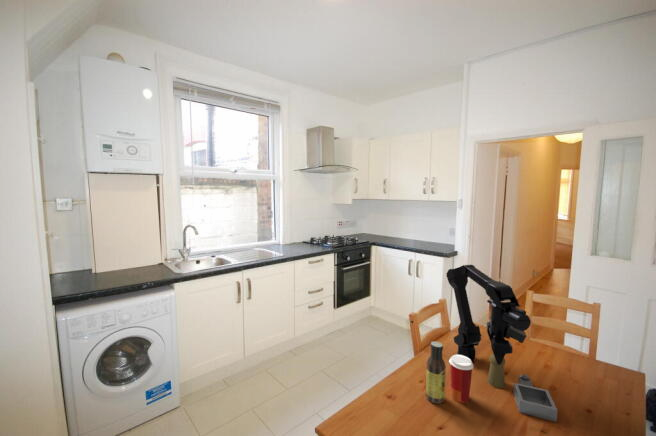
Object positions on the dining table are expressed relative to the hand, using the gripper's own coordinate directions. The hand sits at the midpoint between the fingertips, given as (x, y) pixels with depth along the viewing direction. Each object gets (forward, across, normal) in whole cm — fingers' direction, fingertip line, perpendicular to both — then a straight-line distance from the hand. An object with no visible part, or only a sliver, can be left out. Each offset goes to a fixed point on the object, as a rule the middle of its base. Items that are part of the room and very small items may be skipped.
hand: (497, 357), depth 109 cm
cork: (+10, 0, 0) cm, 10 cm away
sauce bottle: (+10, -18, +21) cm, 29 cm away
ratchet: (+11, -5, -10) cm, 16 cm away
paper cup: (+10, -14, +13) cm, 22 cm away
